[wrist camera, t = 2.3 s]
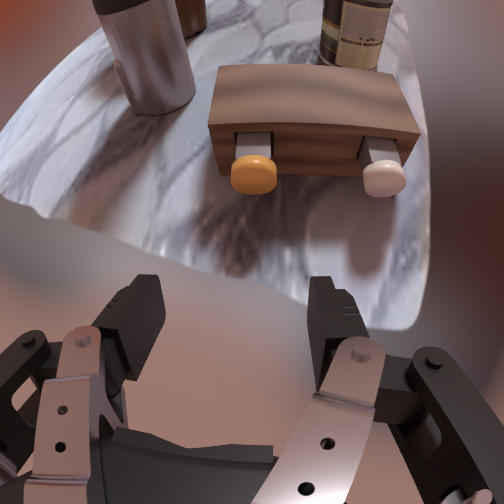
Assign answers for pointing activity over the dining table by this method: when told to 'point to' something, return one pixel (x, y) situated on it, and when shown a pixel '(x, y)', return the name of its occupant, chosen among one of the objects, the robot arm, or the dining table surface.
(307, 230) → the dining table surface
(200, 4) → the plant pot
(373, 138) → the ivory button
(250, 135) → the amber button
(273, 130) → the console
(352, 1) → the coffee can
